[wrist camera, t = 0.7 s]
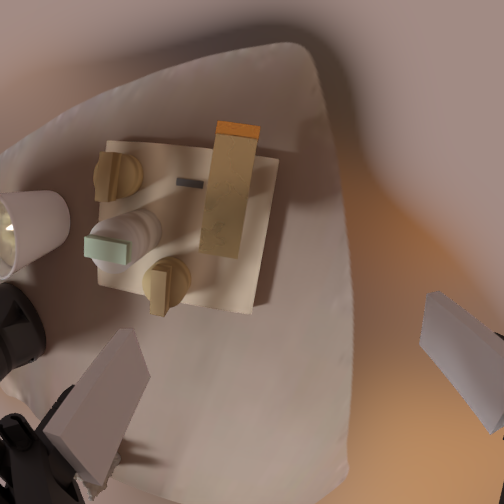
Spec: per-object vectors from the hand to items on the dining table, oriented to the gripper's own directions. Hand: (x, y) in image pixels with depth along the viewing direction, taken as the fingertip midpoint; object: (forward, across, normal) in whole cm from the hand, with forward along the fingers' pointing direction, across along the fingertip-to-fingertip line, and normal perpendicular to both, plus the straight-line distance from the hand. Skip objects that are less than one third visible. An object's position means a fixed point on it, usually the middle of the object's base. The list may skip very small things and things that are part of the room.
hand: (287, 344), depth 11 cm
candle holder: (+23, -30, +6) cm, 38 cm away
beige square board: (+23, -10, +2) cm, 25 cm away
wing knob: (+20, -3, +6) cm, 21 cm away
